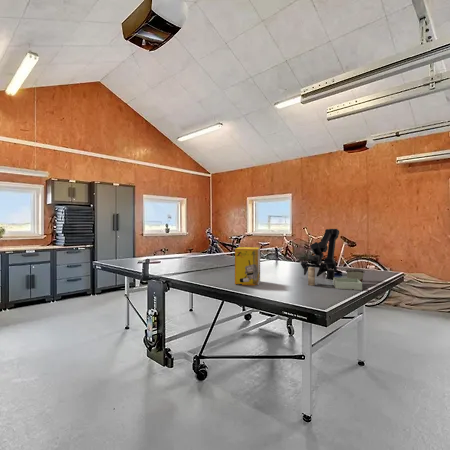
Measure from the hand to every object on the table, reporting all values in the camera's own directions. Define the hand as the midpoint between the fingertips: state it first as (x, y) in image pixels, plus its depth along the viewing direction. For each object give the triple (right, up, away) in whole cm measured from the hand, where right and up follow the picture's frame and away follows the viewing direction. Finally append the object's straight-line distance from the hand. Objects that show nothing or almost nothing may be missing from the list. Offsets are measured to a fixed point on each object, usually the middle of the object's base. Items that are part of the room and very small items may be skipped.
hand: (310, 275), depth 206 cm
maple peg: (+1, -7, +1) cm, 7 cm away
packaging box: (-43, -7, +8) cm, 44 cm away
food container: (+34, -7, +8) cm, 35 cm away
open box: (+23, -7, -5) cm, 25 cm away
